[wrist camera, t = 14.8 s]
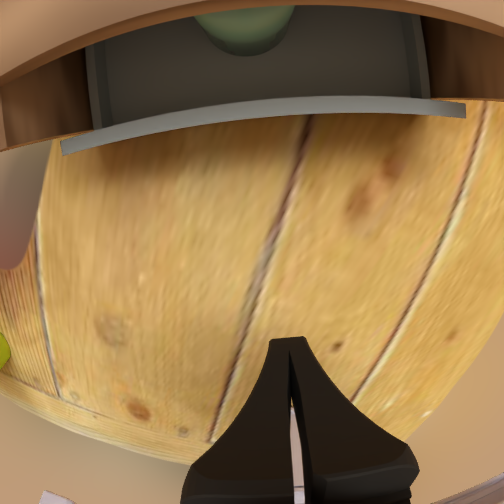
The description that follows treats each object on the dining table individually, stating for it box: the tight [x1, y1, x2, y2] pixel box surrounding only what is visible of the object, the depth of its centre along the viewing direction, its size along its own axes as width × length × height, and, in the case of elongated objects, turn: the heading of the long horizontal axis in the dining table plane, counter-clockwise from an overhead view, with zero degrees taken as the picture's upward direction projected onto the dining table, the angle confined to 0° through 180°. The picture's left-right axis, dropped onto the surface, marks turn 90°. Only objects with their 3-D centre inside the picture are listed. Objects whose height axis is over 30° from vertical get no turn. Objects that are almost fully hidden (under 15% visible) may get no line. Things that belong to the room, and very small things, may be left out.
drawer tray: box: [60, 5, 466, 156], centre depth 13 cm, size 11×21×5 cm, turn 96°
